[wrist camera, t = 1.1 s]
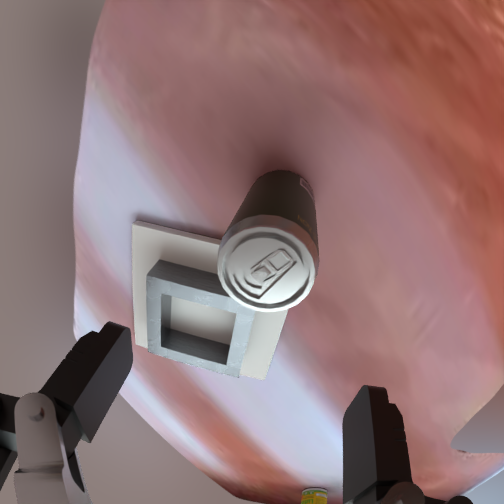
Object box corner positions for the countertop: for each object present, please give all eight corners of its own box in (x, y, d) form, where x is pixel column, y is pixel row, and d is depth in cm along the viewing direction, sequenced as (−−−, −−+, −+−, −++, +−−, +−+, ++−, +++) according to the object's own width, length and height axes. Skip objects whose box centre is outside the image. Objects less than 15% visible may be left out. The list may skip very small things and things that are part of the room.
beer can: (284, 154, 25) (269, 199, 14) (327, 203, 26) (341, 280, 16) (237, 196, 27) (191, 264, 16) (279, 240, 28) (261, 330, 18)
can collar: (159, 259, 30) (146, 275, 27) (261, 284, 29) (257, 304, 27) (157, 334, 35) (148, 351, 32) (243, 357, 34) (238, 377, 31)
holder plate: (136, 220, 30) (132, 224, 29) (302, 259, 29) (302, 264, 28) (139, 339, 37) (135, 344, 36) (265, 374, 36) (264, 380, 35)
